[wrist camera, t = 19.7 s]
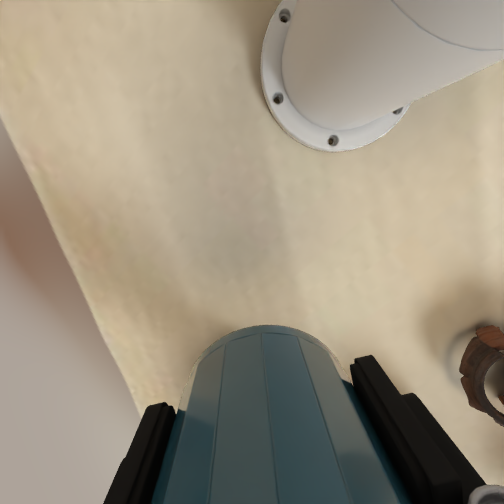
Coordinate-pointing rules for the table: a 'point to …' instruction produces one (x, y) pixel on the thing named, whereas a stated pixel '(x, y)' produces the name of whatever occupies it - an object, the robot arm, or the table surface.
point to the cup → (274, 429)
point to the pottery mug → (482, 368)
